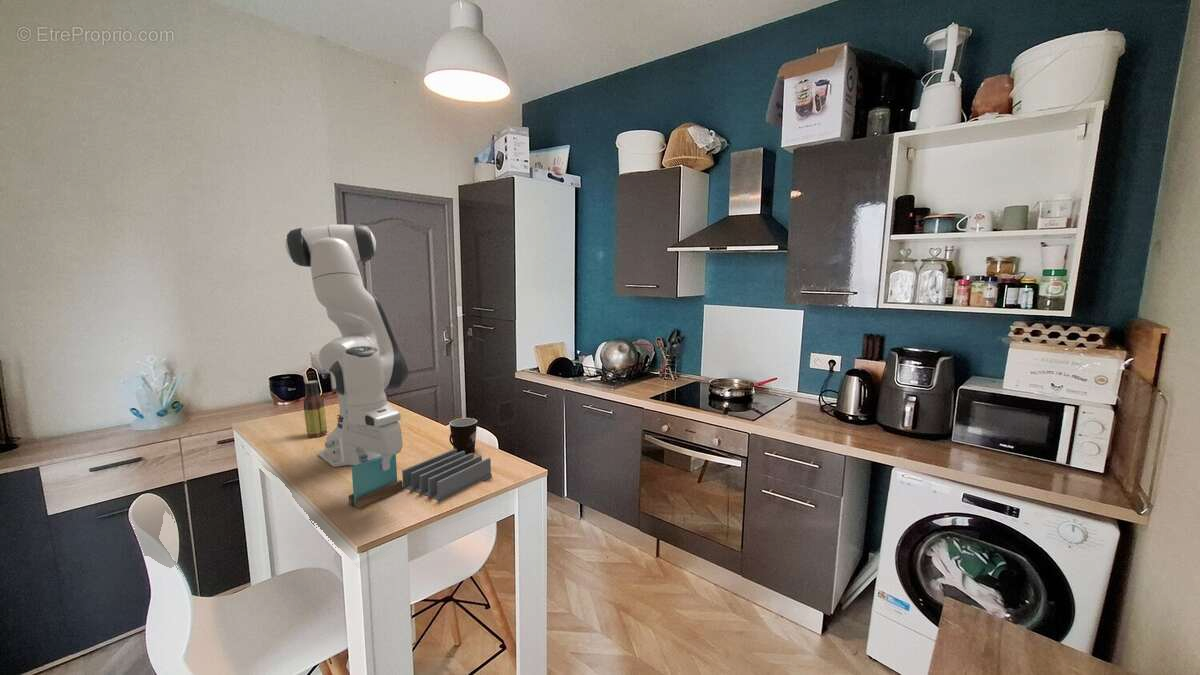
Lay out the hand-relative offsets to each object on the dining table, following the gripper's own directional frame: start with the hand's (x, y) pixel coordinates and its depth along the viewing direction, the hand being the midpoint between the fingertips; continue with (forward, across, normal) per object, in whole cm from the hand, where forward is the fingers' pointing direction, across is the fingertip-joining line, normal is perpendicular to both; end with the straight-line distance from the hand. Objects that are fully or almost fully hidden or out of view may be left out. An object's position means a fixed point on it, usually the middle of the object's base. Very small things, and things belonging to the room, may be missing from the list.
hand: (374, 465), depth 114 cm
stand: (+9, -1, 0) cm, 9 cm away
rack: (+10, +7, +16) cm, 20 cm away
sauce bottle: (+8, -64, +17) cm, 67 cm away
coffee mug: (+10, -7, +33) cm, 35 cm away
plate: (+9, -1, 0) cm, 9 cm away
